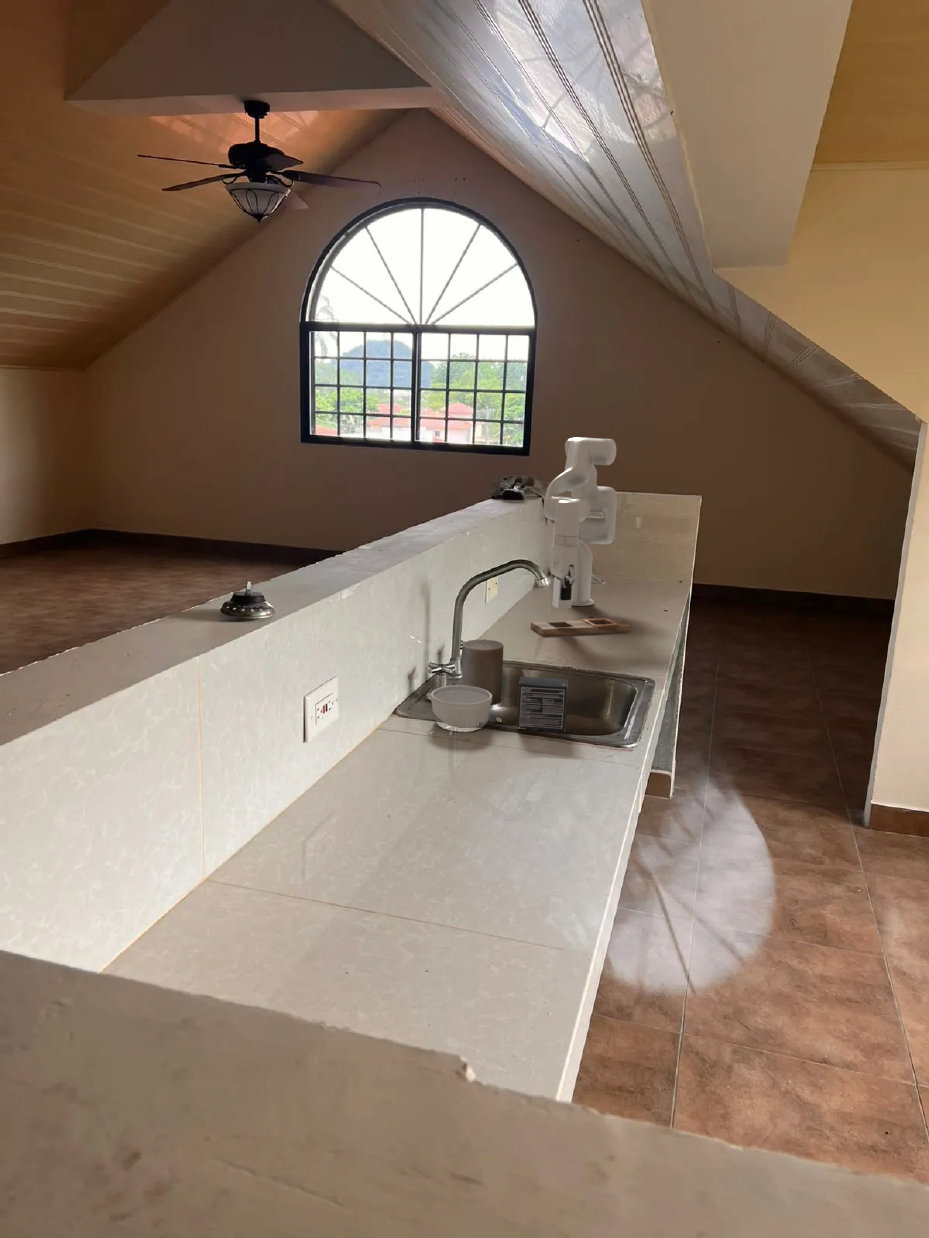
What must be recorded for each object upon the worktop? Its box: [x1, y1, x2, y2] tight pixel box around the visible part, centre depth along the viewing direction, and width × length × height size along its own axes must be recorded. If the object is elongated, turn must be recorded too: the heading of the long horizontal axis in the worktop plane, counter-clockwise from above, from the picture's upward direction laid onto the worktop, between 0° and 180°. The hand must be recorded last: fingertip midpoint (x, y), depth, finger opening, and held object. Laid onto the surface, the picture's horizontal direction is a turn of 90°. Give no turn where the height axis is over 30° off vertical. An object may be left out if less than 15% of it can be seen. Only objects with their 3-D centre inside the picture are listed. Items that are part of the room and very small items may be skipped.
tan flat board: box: [530, 617, 631, 637], centre depth 287 cm, size 10×30×2 cm, turn 108°
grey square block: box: [552, 576, 573, 610], centre depth 283 cm, size 4×4×9 cm
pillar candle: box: [461, 638, 504, 706], centre depth 212 cm, size 10×10×15 cm
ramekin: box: [430, 684, 492, 728], centre depth 196 cm, size 13×13×7 cm
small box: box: [516, 676, 569, 733], centre depth 197 cm, size 11×6×10 cm, turn 84°
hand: (562, 597), depth 284 cm, fingers closed on grey square block, 4 cm apart
